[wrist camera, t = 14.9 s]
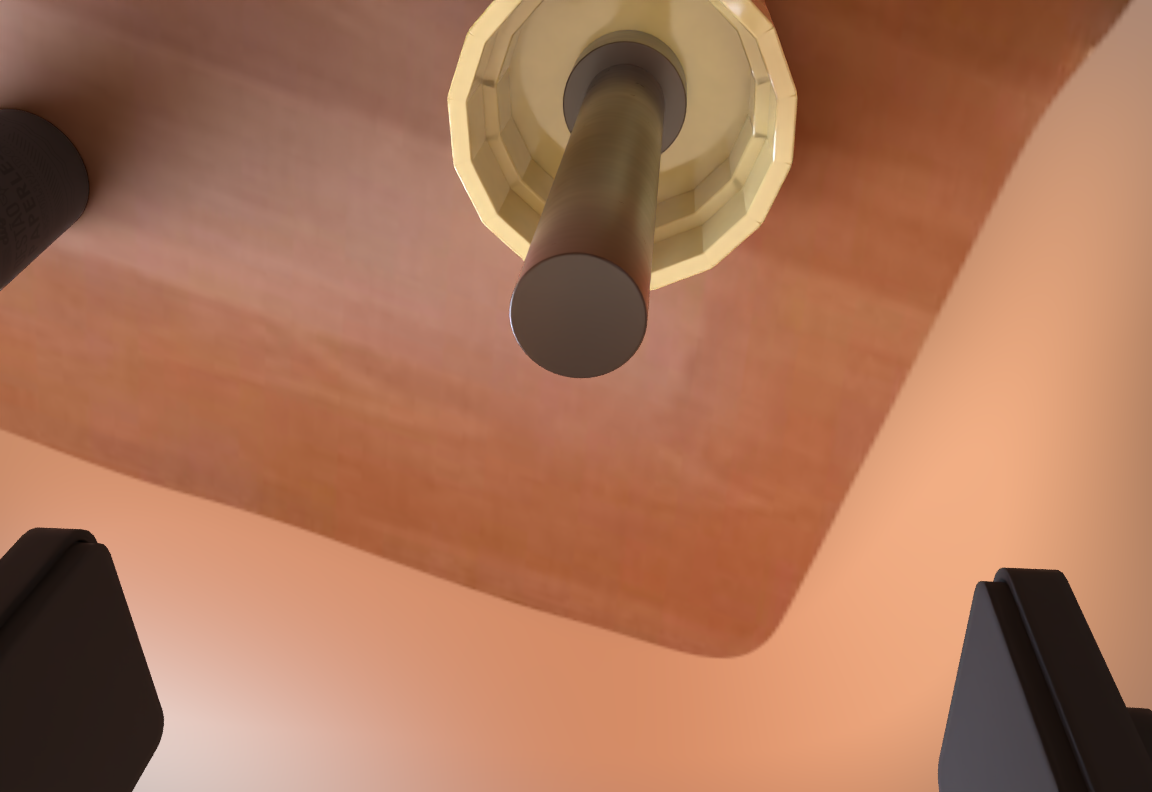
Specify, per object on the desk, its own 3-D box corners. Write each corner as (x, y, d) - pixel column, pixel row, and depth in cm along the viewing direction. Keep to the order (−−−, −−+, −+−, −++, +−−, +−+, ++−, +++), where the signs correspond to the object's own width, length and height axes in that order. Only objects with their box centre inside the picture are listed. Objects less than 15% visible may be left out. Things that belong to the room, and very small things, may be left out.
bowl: (790, -82, 32) (809, -62, 27) (770, 225, 37) (783, 292, 32) (472, -74, 33) (432, -52, 28) (494, 224, 38) (464, 289, 33)
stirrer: (688, 28, 34) (687, 216, 18) (685, 149, 36) (683, 412, 20) (566, 30, 34) (463, 215, 18) (570, 149, 36) (480, 408, 20)
